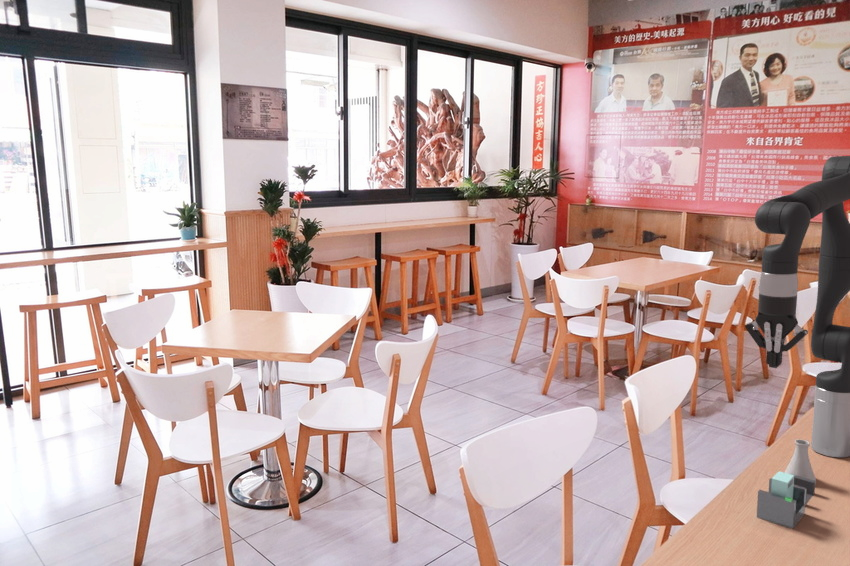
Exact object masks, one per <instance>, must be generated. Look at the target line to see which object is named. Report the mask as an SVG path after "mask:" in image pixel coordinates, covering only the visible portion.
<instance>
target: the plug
mask: <svg viewBox="0 0 850 566" xmlns="http://www.w3.org/2000/svg"><path fill="white" fill-rule="evenodd" d="M784 472H785V471H784ZM784 472H783V471H780V470H778V472H776V473H775V474H774V476H773V477H771V478H772V484H771V493H773V494H776V495H780V496H783V497H789V498H792V499H793V486H794V475H791V474H788V473H784Z"/></svg>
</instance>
